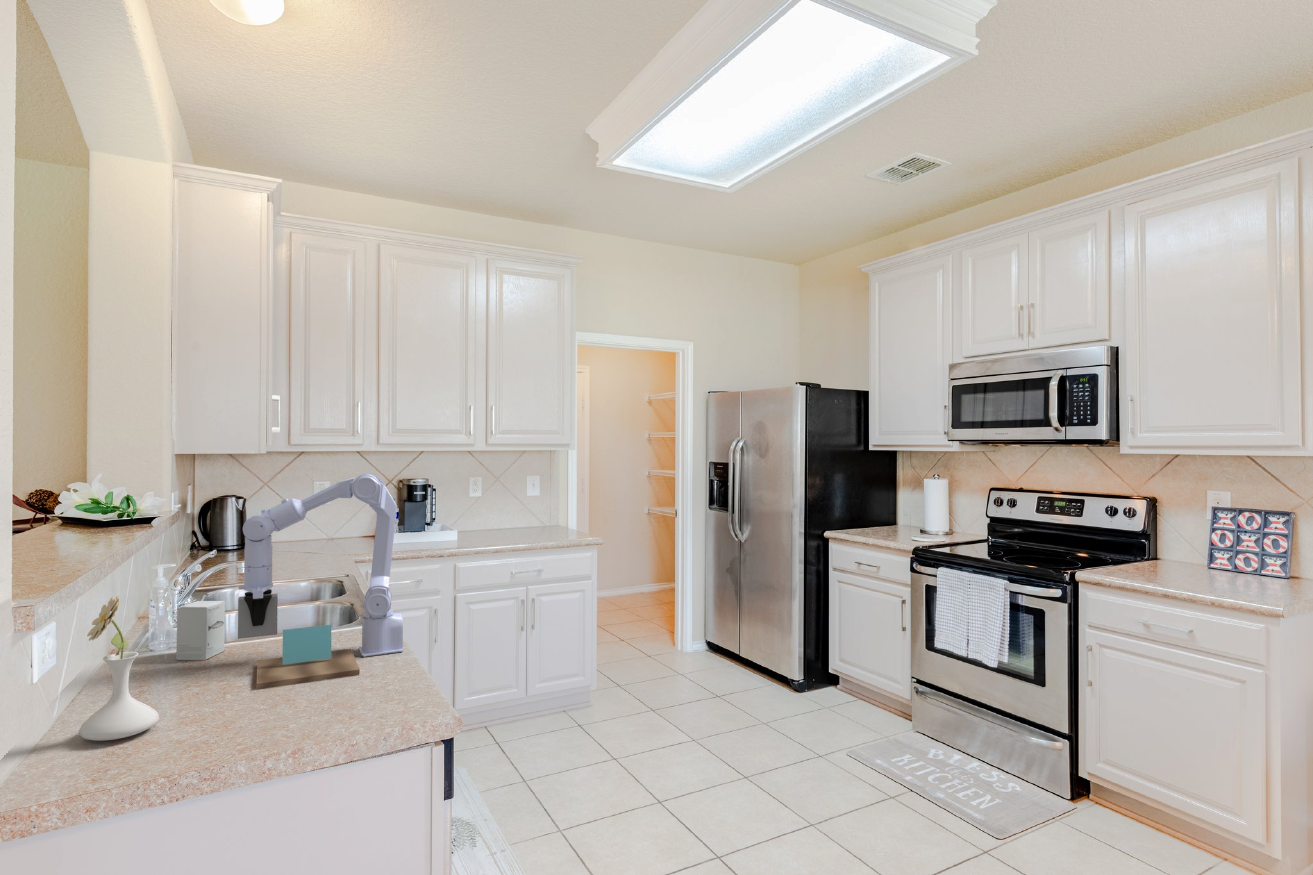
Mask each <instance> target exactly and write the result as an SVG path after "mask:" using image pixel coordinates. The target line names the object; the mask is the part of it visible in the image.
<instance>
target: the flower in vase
mask: <svg viewBox="0 0 1313 875" xmlns="http://www.w3.org/2000/svg"><path fill="white" fill-rule="evenodd" d="M120 599H121V598H120V597H119V596H118V595H117V596H116V597H115V598H114V596H112V597H111V598H110V600H109V601H108V602H107V604H103V605H102V607H101V610H100V612H99V614H98V617H96V618H95V619H93V621H92V622H91V625H92V626H93V627H92V628H91V629H90V630H89V632H88V633H87V637H89V638H88V641H89V642H90V641H94V640H96V639H98V638H99V637H100V636H101V635H103V633H104V632H105V631H106V629H107V628H108V627H109V625H110V624H113V626H114V627H115V629H116V630H117V632H116V634H115V635H114V636H113V637H112V638H111V640H110V641H111V645H113V647H115V648H117V649H118V650H117V652H116V653H115V652H114V653H111V654H109V655H106V656H104V657H103V658H102V660H103V661H104V662H105V663H106V664H107V665H108V667H109V670H110V674H111V677H112V678H111V679H112V680H111V681H112V691H111V692H112V693H111V696H110V698H109V700H108V701H107V703H106V704H105V703H104V705H103V706H102V707H100V708H99V709H98V710H97V711H95V713H93V714H91V715H90V716H89V717H88V718H87V719H86V720H85V721H84V722H83V723H82V724H81V726H80V728H79V729H78V735H79V736H80V737H82V738H83V739H85V740H88V741H98V742H99V741H101V742H102V741H113V740H119V739H124V738H129V737H133V736H134V735H137V734H140V733H142V732H144V731H147V730H149V729H150V728H152V727H154V726H155V725H156V724H157V723H158V721H159V719H160V715H159V713H158V711H157V710H155V709H154V707H152V706H149V705H148V704H145V703H143V702H141V701H139V700H138V699H135V697H133V696H132V695H131V694H130V690H129V678H130V672H131V667H132V664H133V662H134V661H135V659H136V658H137V657H138V655H139V652H137V651H124V650H125V649H126V648H127V647H128V646H129V642H128V640H126V639H125V638H124V636H123V633H122V631H121V628H120V627H119V626H118V624H117V623H116V621H115V620H114V617H115V616H116V614H117V612H118V609H119V607H120V603H121V601H120Z"/></svg>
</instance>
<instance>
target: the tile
mask: <svg viewBox="0 0 1313 875" xmlns="http://www.w3.org/2000/svg"><path fill="white" fill-rule="evenodd" d="M331 651H332V624H324V625H314V626H305V627H304V626H303V627H300V628H299V627H297V628H296V627H295V628H289V629H282V657H283V665H284V664H292V663H300V662H307V661H315V660H323V659H330V658H331Z"/></svg>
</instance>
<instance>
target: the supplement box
mask: <svg viewBox="0 0 1313 875" xmlns="http://www.w3.org/2000/svg"><path fill="white" fill-rule="evenodd" d="M176 617H177V618H176V648H175V649H176V650H175V651H176V654H175V656H176V658H175V659H176V661H177V660H179V661H207V660H208V659H210V658H212V657H214V656H216V655H218V654H221V653H223V652H225V635H226V634H225V633H226V631H225V630H226V629H225V628H226V626H225V625H226V623H225V622H226V601H225V600H197V601H194V602H190V603H187V604H183V605H181V606H178V607H177V608H176Z"/></svg>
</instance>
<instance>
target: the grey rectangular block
mask: <svg viewBox="0 0 1313 875" xmlns="http://www.w3.org/2000/svg"><path fill="white" fill-rule="evenodd" d="M266 595H272V598H271V600H270V601H269V604H268V606H267V609H266V614H265V620H264V624H263V625H262V626H253V625H252V621H251V616H250V611H249V608H248V606H247V604H246V602H245V600H244V596H245V595H244V596H238V598H237V639H238V640H240V639H241V640H242V639H251V638H256V637H257V638H258V637H268V636H275V635H278V600H279V599H278V593H271V594H265V595H263V596H266Z"/></svg>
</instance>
